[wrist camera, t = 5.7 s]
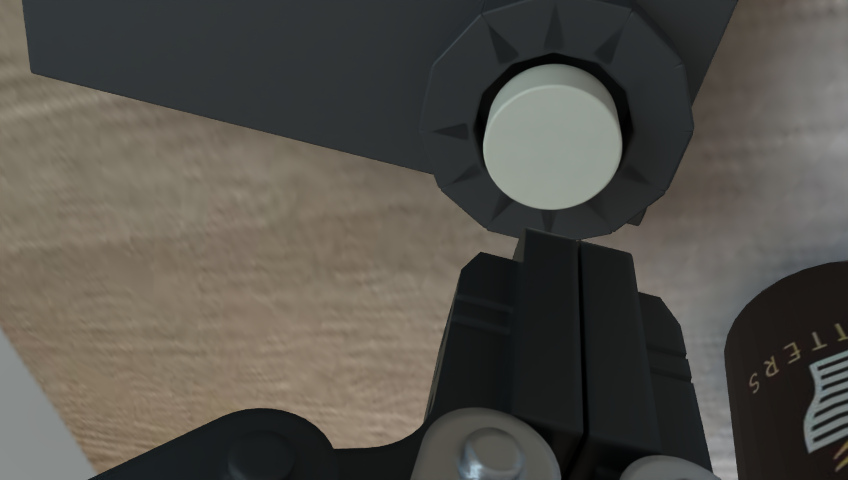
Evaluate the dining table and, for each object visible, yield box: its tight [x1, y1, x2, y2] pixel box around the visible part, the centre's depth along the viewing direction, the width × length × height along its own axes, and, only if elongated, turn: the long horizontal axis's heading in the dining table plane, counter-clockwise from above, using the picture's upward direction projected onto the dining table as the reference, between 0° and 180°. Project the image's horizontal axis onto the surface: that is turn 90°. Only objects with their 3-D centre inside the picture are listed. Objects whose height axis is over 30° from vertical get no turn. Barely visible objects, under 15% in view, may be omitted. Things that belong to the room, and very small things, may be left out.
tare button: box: [483, 64, 622, 210], centre depth 15 cm, size 3×3×1 cm
